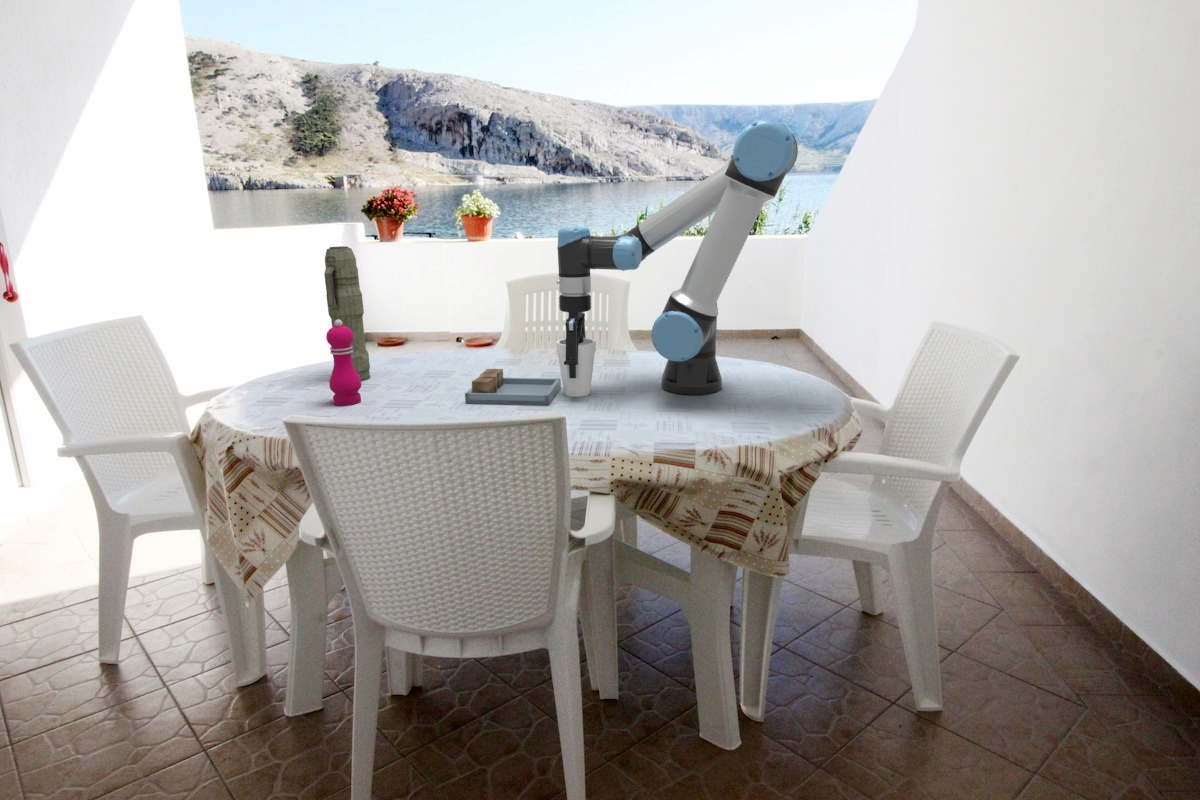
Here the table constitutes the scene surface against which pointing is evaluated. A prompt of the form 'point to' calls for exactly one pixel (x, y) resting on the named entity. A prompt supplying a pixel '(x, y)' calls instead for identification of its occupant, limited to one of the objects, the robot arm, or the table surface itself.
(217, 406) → the table surface
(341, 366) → the pepper mill
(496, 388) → the block
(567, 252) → the robot arm
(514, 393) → the tray
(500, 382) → the block
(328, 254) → the carved stone statue
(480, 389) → the block
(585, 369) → the foam cup
